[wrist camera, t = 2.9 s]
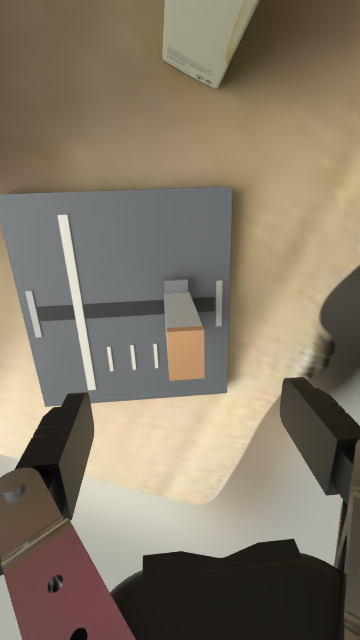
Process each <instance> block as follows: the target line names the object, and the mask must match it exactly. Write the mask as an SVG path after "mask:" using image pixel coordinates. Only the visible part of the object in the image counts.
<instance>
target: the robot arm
mask: <svg viewBox="0 0 360 640" xmlns="http://www.w3.org/2000/svg"><path fill="white" fill-rule="evenodd" d="M280 417H281V420H282V423H283V425H284V427H285V428H286V430H287V432H288V433H289V435H290V437H291V438H292V440H293V442H294V443H295V445H296V447H297V448H298V450H299V452H300V453H301V455H302V457H303V458H304V460H305V461H306V463H307V465H308V466H309V468H310V470H311V471H312V473H313V475H314V476H315V478H316V479H317V481H318V483H319V484H320V486H321V488H322V489H323V491H324V493H325V494H326V495H336V494H340V496H341V497H342V499H343V503H342V507H341V514H340V522H339V531H338V539H337V548H336V555H335V562H334V566H332V565H330V564H328V563H327V562H325V561H323V560H321V559H318V558H316V557H313V556H310V555H307V554H303V553H300V552H299V549H298V547H297V545H296V543H295V540H294V539H287V540H278V541H269V542H260V543H256V544H254V545H252V546H250V547H247V548H245V549H243V550H240V551H238V552H236V553H234V554H231V555H229V556H227V557H224V558H216V557H210V556H205V555H199V554H193V553H188V552H182V551H180V552H170V553H162V554H153V555H144V556H143V570H142V571H139V572H137V573H135V574H133V575H132V576H130V577H128V578H127V579H125V580H124V581H123V582H121V583H120V584H119V585H117V586H116V587H115V588H114V589H113V590H112V591H111V592H109V591H108V589H107V587H106V585H105V583H104V582H103V580H102V578H101V576H100V574H99V573H98V571H97V569H96V567H95V565H94V564H93V562H92V560H91V558H90V556H89V554H88V553H87V551H86V549H85V547H84V545H83V544H82V542H81V540H80V538H79V536H78V535H77V533H76V531H75V529H74V527H73V525H72V524H71V522H70V520H72V517H73V513H74V509H75V506H76V502H77V498H78V494H79V491H80V487H81V483H82V480H83V476H84V472H85V468H86V465H87V461H88V457H89V453H90V450H91V446H92V442H93V438H94V422H93V415H92V409H91V403H90V397H89V394H88V392H80V393H68V394H67V395H66V398H65V400H64V402H63V404H62V406H61V407H53V408H52V409H51V410H50V411H49V412H48V413H47V414H46V415H45V416H43V418H42V420H41V422H40V424H39V426H38V429H36V431H35V433H34V435H33V438H31V440H30V442H29V444H28V446H27V448H26V450H25V451H24V453H23V455H22V457H21V459H20V461H19V462H18V464H17V466H16V468H15V470H13V471H11V472H9V473H7V474H5V475H3V476H2V477H1V478H0V576H1V575H3V574H4V576H5V580H6V584H7V587H8V590H9V594H10V598H11V601H12V605H13V608H14V612H15V615H16V619H17V622H18V626H19V630H20V633H21V637H22V640H360V426H359V425H358V424H357V423H356V422H355V421H354V419H353V418H352V417H351V416H350V415H349V414H348V413H345V410H344V409H343V408H342V407H341V406H339V405H338V403H337V402H336V401H335V400H334V399H333V398H332V397H331V396H330V395H329V394H327V393H326V392H324V391H322V390H320V389H319V388H314V387H313V386H312V385H311V384H310V383H309V382H308V381H307V380H306V379H305V378H304V377H296V378H285V379H284V380H283V385H282V394H281V403H280Z"/></svg>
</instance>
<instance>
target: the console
mask: <svg viewBox="0 0 360 640" xmlns="http://www.w3.org/2000/svg"><path fill="white" fill-rule="evenodd" d="M231 220H232V186H229V187H201V188H172V189H143V190H114V191H85V192H57V193H28V194H0V223H1V227H2V231H3V235H4V239H5V243H6V248H7V252H8V256H9V260H10V264H11V268H12V272H13V276H14V280H15V284H16V289H17V293H18V297H19V301H20V305H21V309H22V313H23V317H24V321H25V325H26V330H27V334H28V338H29V342H30V346H31V350H32V354H33V358H34V362H35V366H36V371H37V375H38V379H39V383H40V387H41V391H42V395H43V399H44V403H45V407H48V406H61V405H62V404H63V402H64V400H65V398H66V395H67V394H68V393H80V392H88V394H89V397H90V403H101V402H114V401H128V400H141V399H154V398H167V397H181V396H194V395H207V394H221V393H227V377H228V337H229V298H230V259H231ZM169 278H187V279H188V292H189V293H190V295H191V298H192V300H193V303H194V305H195V308H196V310H197V313H198V316H199V318H200V321H201V323H202V326H203V328H204V376H205V378H202V379H188V380H174V381H170V380H169V367H168V353H167V339H166V325H165V308H164V294H165V287H164V279H169Z"/></svg>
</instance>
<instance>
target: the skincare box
mask: <svg viewBox="0 0 360 640" xmlns="http://www.w3.org/2000/svg"><path fill="white" fill-rule="evenodd" d="M259 1H260V0H165V13H164V35H163V57H162V58H163V60H164V61H166V62H168V63H169V64H171V65H173V66H174V67H176V68H178V69H179V70H181V71H183V72H184V73H186V74H188V75H190V76H191V77H193V78H195V79H197V80H199V81H201V82H203V83H205V84H207V85H209V86H211V87H213V88H215V89H217V88H218V87H219V85H220V83H221V81H222V79H223V77H224V75H225V72H226V70H227V68H228V66H229V64H230V62H231V59H232V57H233V55H234V53H235V51H236V49H237V47H238V45H239V43H240V41H241V38H242V36H243V34H244V32H245V30H246V28H247V26H248V24H249V22H250V20H251V17H252V15H253V13H254V11H255V9H256V7H257V5H258V3H259Z"/></svg>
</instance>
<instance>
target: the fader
mask: <svg viewBox="0 0 360 640" xmlns="http://www.w3.org/2000/svg"><path fill="white" fill-rule="evenodd" d="M164 287H165V294H164V308H165V325H166V339H167V353H168V367H169V380H170V381H174V380H188V379H202V378H205V376H204V328H203V326H202V323H201V321H200V318H199V316H198V313H197V310H196V308H195V305H194V303H193V300H192V298H191V295H190V293H189V292H188V279H187V278H169V279H164Z"/></svg>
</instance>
